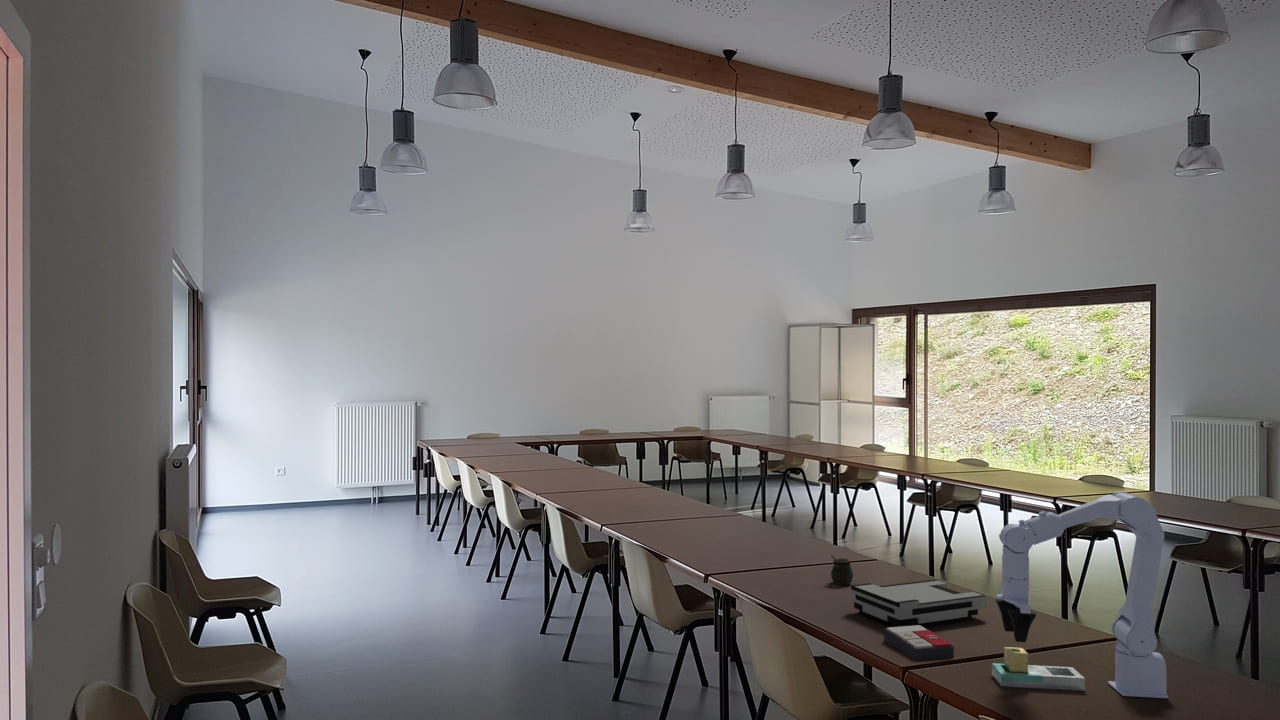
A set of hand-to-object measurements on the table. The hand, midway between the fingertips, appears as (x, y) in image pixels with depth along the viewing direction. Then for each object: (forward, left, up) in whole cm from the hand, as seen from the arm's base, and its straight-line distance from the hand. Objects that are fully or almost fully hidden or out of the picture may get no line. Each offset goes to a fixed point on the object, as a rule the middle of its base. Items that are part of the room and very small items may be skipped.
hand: (1015, 636), depth 193 cm
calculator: (+17, -21, -11) cm, 29 cm away
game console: (+11, -51, -11) cm, 53 cm away
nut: (0, 0, -9) cm, 9 cm away
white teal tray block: (-5, 0, -10) cm, 11 cm away
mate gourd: (+29, -85, -11) cm, 90 cm away
